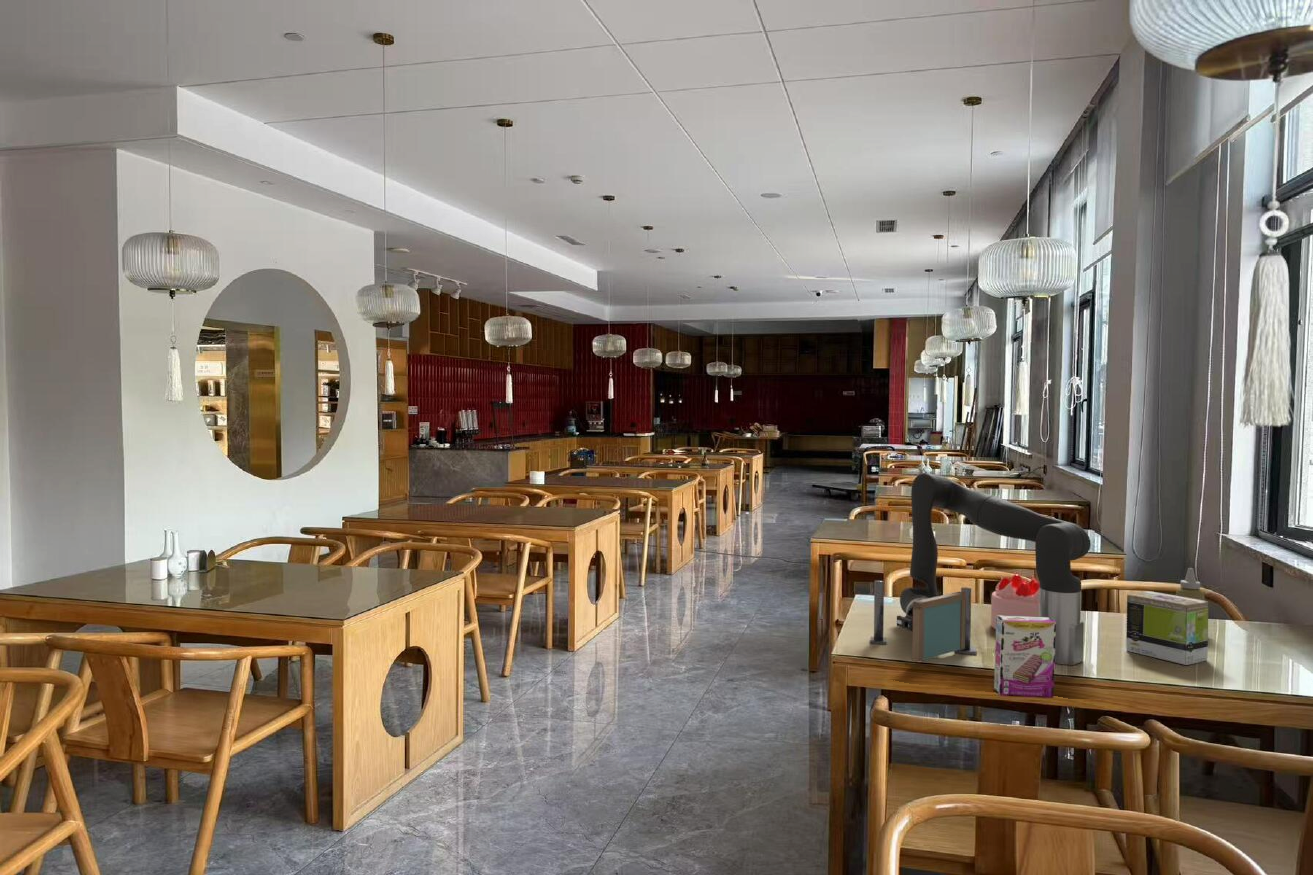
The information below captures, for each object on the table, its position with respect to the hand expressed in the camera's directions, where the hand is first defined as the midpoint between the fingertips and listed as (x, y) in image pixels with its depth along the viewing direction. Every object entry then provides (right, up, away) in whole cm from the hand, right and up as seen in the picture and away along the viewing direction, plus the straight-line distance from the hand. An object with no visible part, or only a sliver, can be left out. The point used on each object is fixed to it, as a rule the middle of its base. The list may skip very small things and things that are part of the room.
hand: (923, 631), depth 209 cm
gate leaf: (+4, -6, 0) cm, 7 cm away
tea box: (+62, -7, +4) cm, 62 cm away
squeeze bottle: (+80, -7, +25) cm, 84 cm away
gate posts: (+3, -7, +11) cm, 13 cm away
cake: (+39, -7, +29) cm, 49 cm away
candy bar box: (+14, -8, -25) cm, 30 cm away
